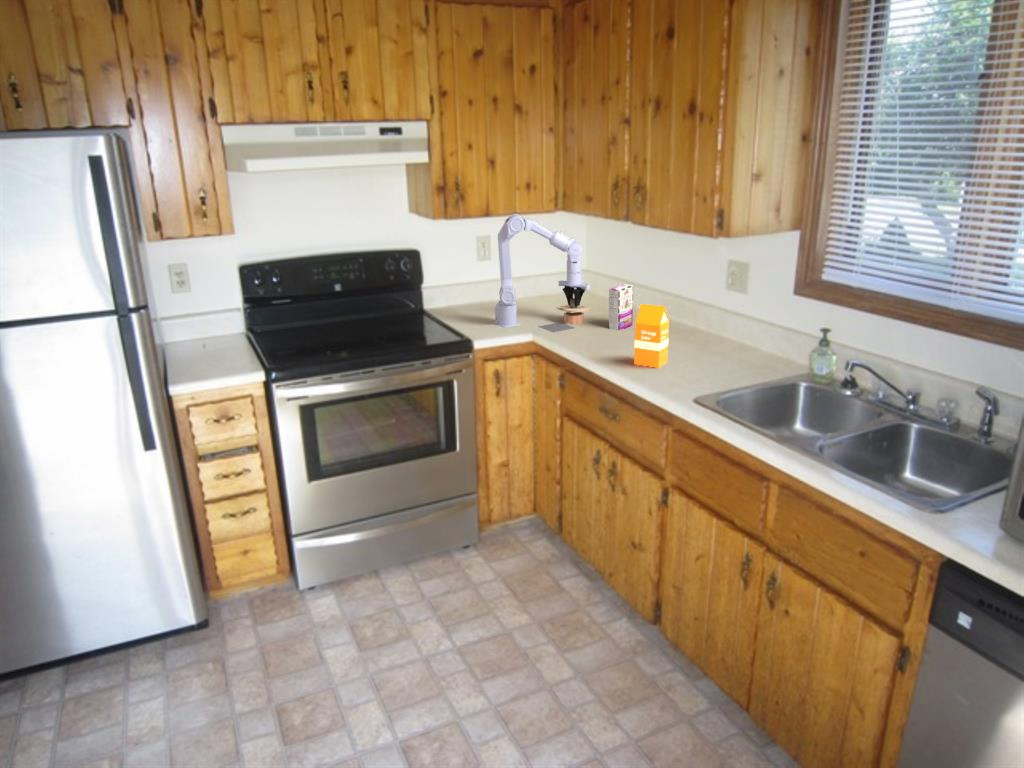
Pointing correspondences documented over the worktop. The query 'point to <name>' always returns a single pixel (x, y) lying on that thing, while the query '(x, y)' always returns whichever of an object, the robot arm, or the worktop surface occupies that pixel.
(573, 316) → the bowl
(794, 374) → the worktop surface
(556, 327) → the mat
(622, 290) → the candy bar box
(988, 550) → the worktop surface
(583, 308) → the lid
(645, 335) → the orange juice
